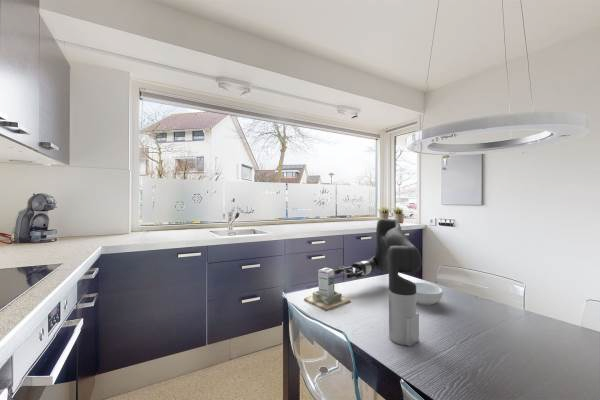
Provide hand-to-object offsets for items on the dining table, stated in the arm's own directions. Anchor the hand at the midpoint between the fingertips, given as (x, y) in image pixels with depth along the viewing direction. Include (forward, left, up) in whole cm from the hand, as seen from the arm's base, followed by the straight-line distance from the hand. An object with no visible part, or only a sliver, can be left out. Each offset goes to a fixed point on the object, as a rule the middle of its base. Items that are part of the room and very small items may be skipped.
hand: (341, 274), depth 136 cm
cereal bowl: (-30, -25, -12) cm, 41 cm away
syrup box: (0, +10, -10) cm, 15 cm away
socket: (0, +10, -11) cm, 15 cm away
